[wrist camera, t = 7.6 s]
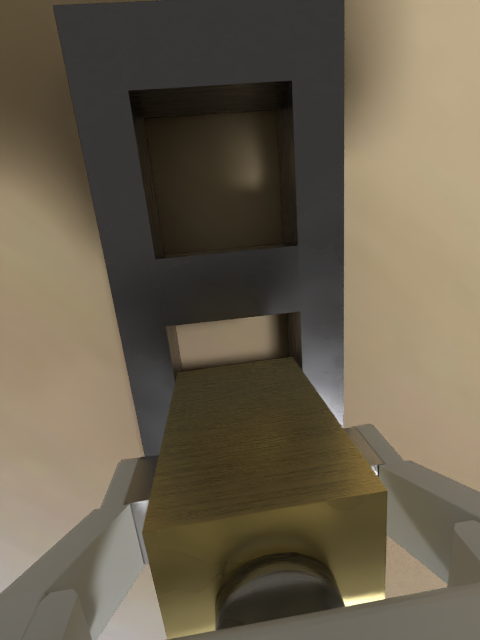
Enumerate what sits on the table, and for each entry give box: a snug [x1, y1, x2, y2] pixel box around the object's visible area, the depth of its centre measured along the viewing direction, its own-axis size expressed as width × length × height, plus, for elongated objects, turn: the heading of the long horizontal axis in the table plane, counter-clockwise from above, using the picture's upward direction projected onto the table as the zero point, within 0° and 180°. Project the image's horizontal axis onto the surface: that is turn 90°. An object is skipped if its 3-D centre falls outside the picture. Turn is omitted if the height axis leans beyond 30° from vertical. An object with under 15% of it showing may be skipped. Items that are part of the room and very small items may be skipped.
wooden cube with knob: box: [142, 357, 388, 639], centre depth 8 cm, size 4×4×6 cm
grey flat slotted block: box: [53, 0, 344, 457], centre depth 14 cm, size 9×26×2 cm, turn 5°
